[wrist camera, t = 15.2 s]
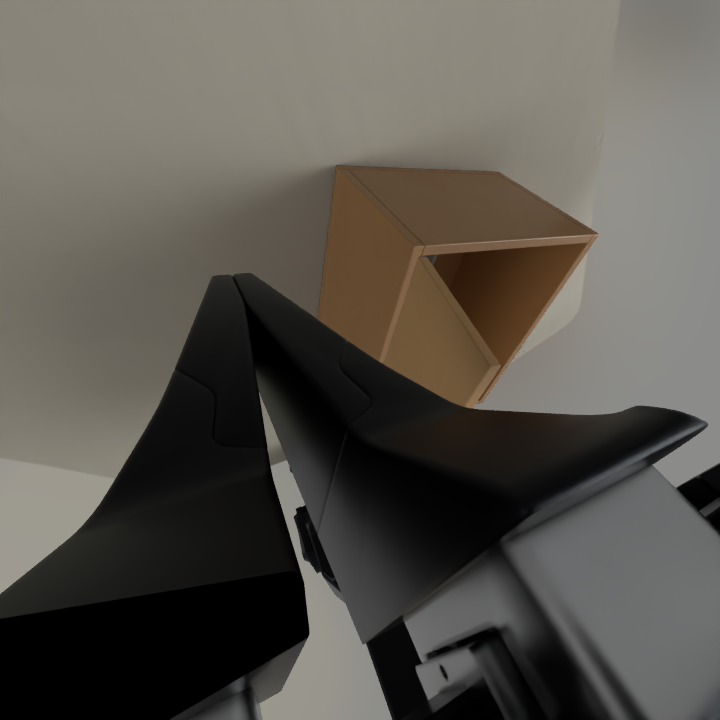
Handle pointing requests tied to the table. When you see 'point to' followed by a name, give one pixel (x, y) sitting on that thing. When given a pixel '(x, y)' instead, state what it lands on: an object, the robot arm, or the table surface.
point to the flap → (439, 342)
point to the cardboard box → (444, 253)
